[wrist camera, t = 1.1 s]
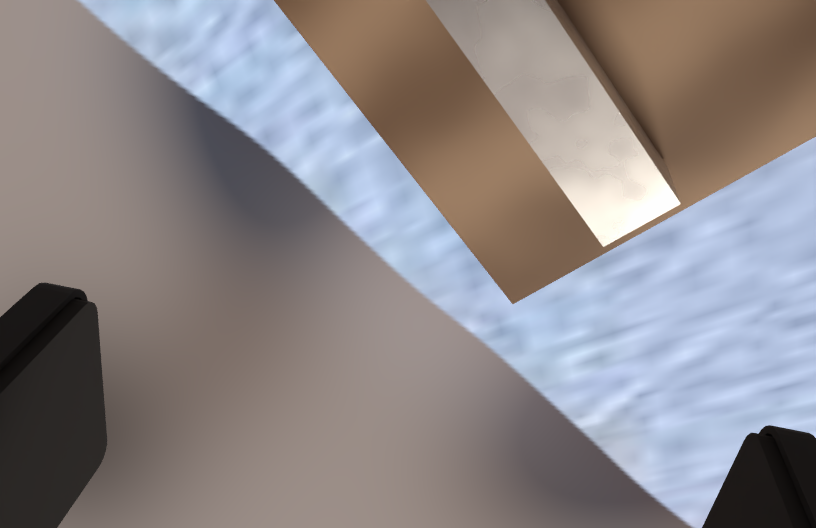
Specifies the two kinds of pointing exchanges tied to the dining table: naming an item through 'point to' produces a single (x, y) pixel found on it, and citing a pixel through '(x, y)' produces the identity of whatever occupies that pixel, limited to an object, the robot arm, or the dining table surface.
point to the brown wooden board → (629, 73)
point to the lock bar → (564, 109)
